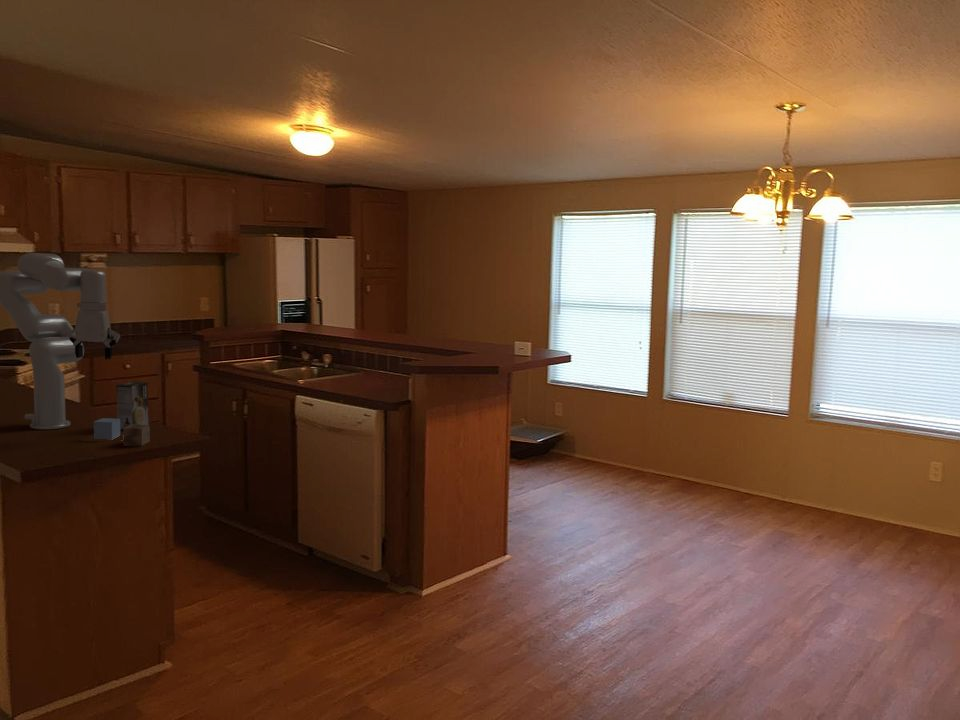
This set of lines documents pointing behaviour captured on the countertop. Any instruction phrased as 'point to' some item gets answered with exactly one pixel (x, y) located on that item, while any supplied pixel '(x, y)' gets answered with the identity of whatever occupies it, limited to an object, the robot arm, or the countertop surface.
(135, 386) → the coffee box
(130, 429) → the walnut block
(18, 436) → the countertop surface
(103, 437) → the blue cube
